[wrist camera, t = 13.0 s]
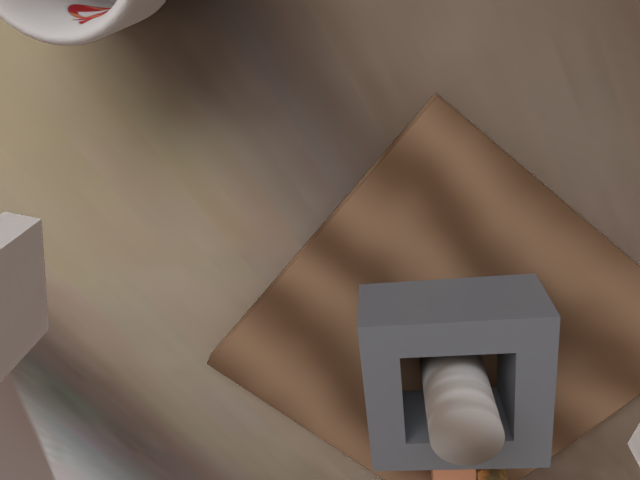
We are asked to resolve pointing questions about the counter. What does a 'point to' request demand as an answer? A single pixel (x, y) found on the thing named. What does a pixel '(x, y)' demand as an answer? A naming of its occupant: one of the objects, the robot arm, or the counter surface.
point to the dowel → (491, 474)
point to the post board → (432, 264)
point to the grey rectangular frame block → (455, 340)
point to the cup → (75, 18)
